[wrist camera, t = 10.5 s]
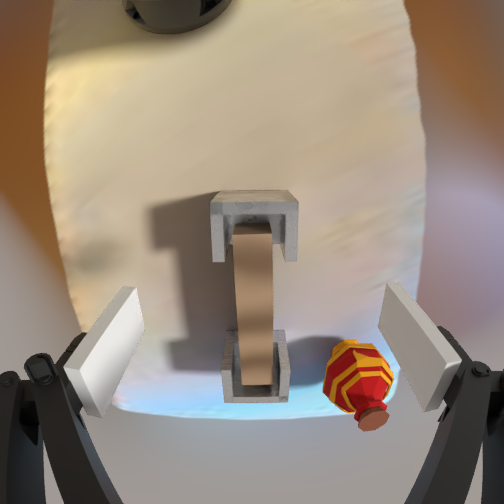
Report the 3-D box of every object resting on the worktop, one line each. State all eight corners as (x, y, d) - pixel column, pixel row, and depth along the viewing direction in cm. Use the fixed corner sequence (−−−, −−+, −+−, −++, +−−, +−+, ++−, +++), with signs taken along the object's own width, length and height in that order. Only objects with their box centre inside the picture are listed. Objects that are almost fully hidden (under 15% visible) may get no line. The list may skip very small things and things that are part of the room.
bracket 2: (226, 330, 43) (221, 370, 35) (284, 330, 43) (290, 369, 35) (228, 362, 45) (224, 402, 37) (282, 361, 45) (287, 402, 37)
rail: (235, 223, 35) (232, 234, 31) (269, 222, 35) (272, 233, 31) (243, 361, 42) (242, 385, 37) (271, 361, 42) (272, 384, 37)
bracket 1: (287, 236, 39) (296, 261, 30) (221, 237, 39) (212, 262, 31) (288, 190, 37) (298, 201, 29) (219, 190, 37) (209, 202, 29)
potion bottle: (303, 367, 46) (317, 440, 32) (337, 316, 43) (368, 385, 29) (354, 382, 47) (378, 448, 33) (389, 336, 44) (427, 399, 30)
